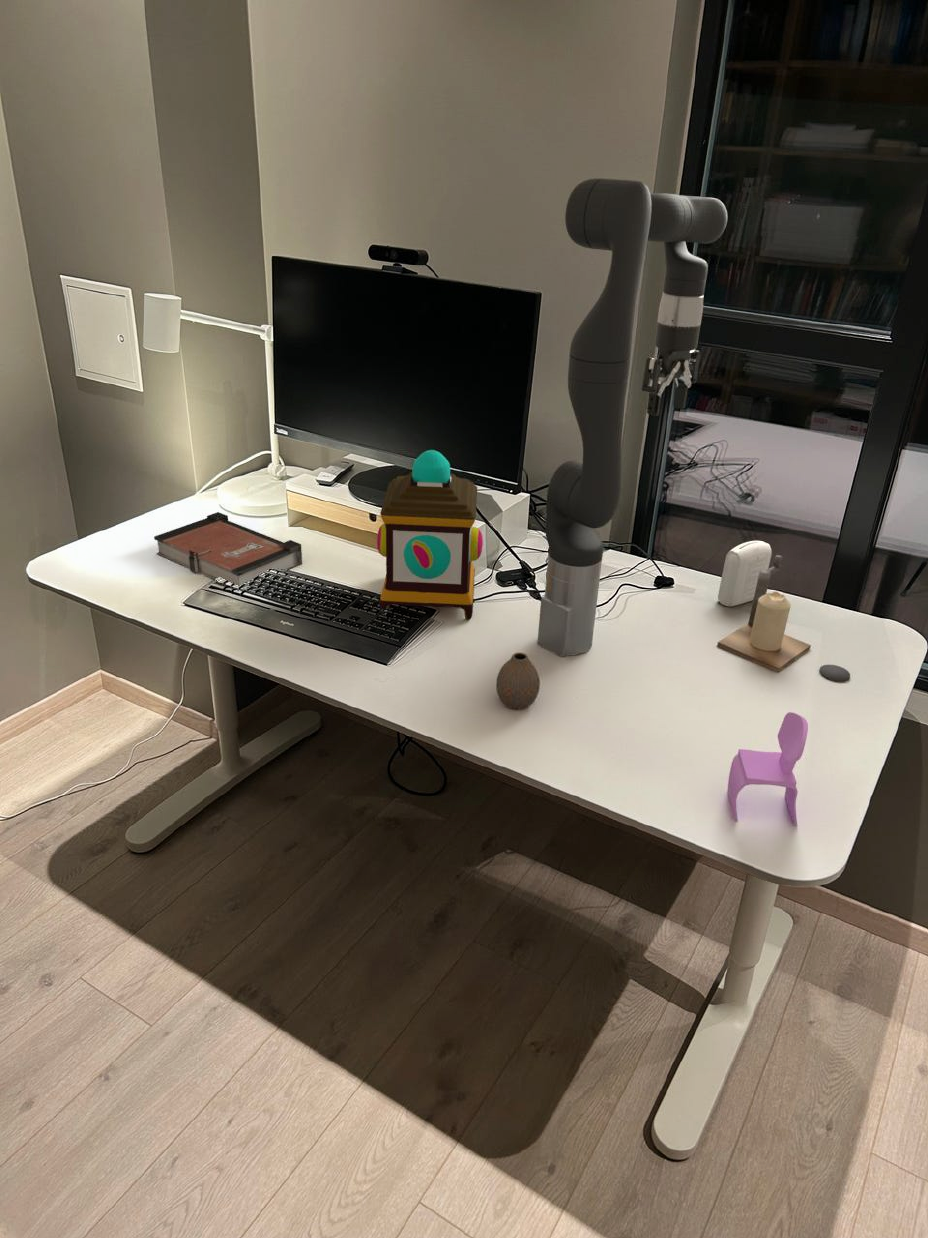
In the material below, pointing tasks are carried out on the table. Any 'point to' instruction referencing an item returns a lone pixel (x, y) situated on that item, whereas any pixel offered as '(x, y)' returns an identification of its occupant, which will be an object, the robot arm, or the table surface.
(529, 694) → the vase
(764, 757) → the toy chair
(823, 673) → the pad
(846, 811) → the table surface
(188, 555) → the book
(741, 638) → the stand with wooden base
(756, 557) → the photo printer
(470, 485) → the decorative lantern
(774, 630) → the candle
